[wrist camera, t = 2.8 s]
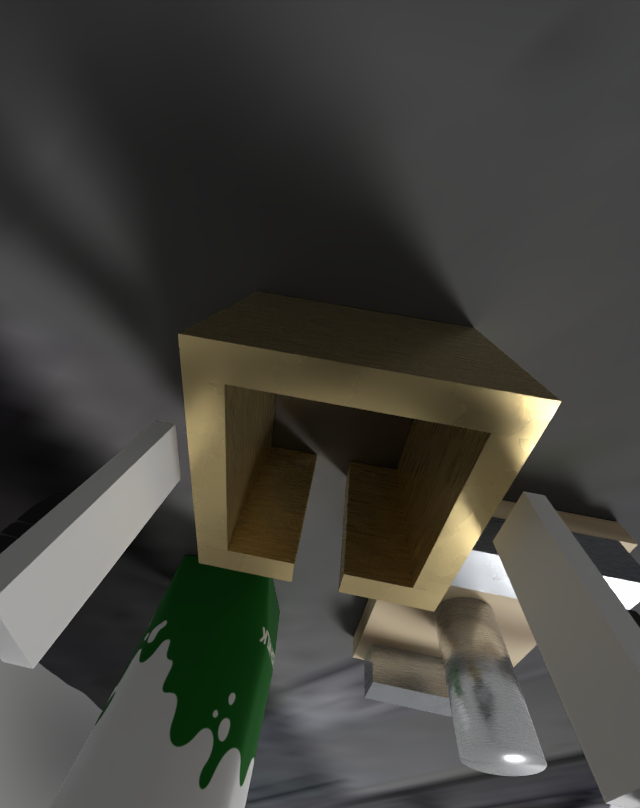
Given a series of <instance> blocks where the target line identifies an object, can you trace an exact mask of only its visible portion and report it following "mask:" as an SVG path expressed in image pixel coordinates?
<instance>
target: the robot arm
mask: <svg viewBox="0 0 640 808" xmlns="http://www.w3.org/2000/svg"><path fill="white" fill-rule="evenodd" d="M180 479H181V476H180V466H179V456H178V445H177V435H176V425H175V424H171V423H166V422H161V421H155V422H154V423H153V424H152V425H150V426H149V427H148V428H147V429H146V430H145V431H143V432H142V433H141V434H140V435H139V436H138V437H136V438H135V439H134V440H133V441H132V442H131V443H129V444H128V445H127V446H126V447H125V448H124V449H122V450H121V451H120V452H119V453H118V454H117V455H115V456H114V457H113V458H112V459H111V460H110V461H108V462H107V463H106V464H105V465H104V466H103V467H101V468H100V469H99V470H98V471H97V472H96V473H94V474H93V475H92V476H91V477H90V478H88V479H87V480H86V481H85V482H84V483H83V484H81V485H80V486H79V487H78V488H77V489H76V490H74V491H73V492H72V493H71V494H70V495H66V494H61V493H57V494H55V495H53V496H51V497H49V498H47V499H45V500H43V501H41V502H39V503H37V504H36V505H34V506H33V507H32V508H31V509H29V510H28V511H27V512H26V513H24V514H23V515H22V516H21V517H19V518H18V519H17V521H16V522H15V523H12V524H10V525H9V526H8V527H7V528H5V529H4V530H3V531H2V532H1V534H0V659H1V660H2V662H6V663H10V664H14V665H19V666H23V667H27V668H31V669H33V668H34V667H35V666H36V665H37V663H38V662H39V661H40V660H41V658H42V657H43V656H44V654H45V653H46V652H47V650H48V649H49V648H50V647H51V645H52V644H53V643H54V641H55V640H56V639H57V638H58V636H59V635H60V634H61V632H62V631H63V630H64V629H65V627H66V626H67V625H68V623H69V622H70V621H71V620H72V618H73V617H74V616H75V614H76V613H77V612H78V611H79V609H80V608H81V607H82V605H83V604H84V603H85V602H86V600H87V599H88V598H89V596H90V595H91V594H92V593H93V591H94V590H95V589H96V587H97V586H98V585H99V584H100V582H101V581H102V580H103V578H104V577H105V576H106V574H107V573H108V572H109V571H110V569H111V568H112V567H113V565H114V564H115V563H116V562H117V560H118V559H119V558H120V556H121V555H122V554H123V553H124V551H125V550H126V549H127V547H128V546H129V545H130V544H131V542H132V541H133V540H134V538H135V537H136V536H137V535H138V533H139V532H140V531H141V529H142V528H143V527H144V526H145V524H146V523H147V522H148V520H149V519H150V518H151V517H152V515H153V514H154V513H155V511H156V510H157V509H158V508H159V506H160V505H161V504H162V502H163V501H164V500H165V499H166V497H167V496H168V495H169V493H170V492H171V491H172V489H173V488H174V487H175V486H176V484H177V483H178V482H179V480H180ZM493 543H494V546H495V548H496V550H497V553H498V555H499V557H500V560H501V562H502V564H503V567H504V569H505V571H506V573H507V576H508V578H509V580H510V583H511V585H512V587H513V590H514V592H515V594H516V597H517V599H518V601H519V604H520V606H521V608H522V611H523V613H524V615H525V618H526V620H527V622H528V625H529V627H530V629H531V632H532V634H533V636H534V638H535V641H536V643H537V645H538V648H539V650H540V652H541V655H542V657H543V659H544V662H545V664H546V666H547V669H548V671H549V673H550V676H551V678H552V680H553V683H554V685H555V687H556V690H557V692H558V694H559V697H560V699H561V701H562V703H563V706H564V708H565V710H566V713H567V715H568V717H569V720H570V722H571V724H572V727H573V729H574V731H575V734H576V736H577V738H578V741H579V743H580V745H581V748H582V750H583V752H584V755H585V757H586V759H587V761H588V764H589V766H590V768H591V771H592V773H593V775H594V778H595V780H596V782H597V785H598V787H599V789H600V792H601V794H602V796H603V799H604V801H605V803H607V804H611V805H615V806H619V807H624V808H640V615H639V614H638V613H637V612H636V611H633V610H628V609H626V608H625V607H624V605H623V604H622V602H621V601H620V600H619V598H618V597H617V595H616V594H615V593H614V591H613V590H612V588H611V587H610V586H609V584H608V583H607V581H606V580H605V579H604V577H603V576H602V575H601V573H600V572H599V570H598V569H597V568H596V566H595V565H594V563H593V562H592V561H591V559H590V558H589V556H588V555H587V554H586V552H585V551H584V549H583V548H582V547H581V545H580V544H579V542H578V541H577V540H576V538H575V537H574V535H573V534H572V533H571V531H570V530H569V528H568V527H567V526H566V524H565V523H564V521H563V520H562V519H561V517H560V516H559V514H558V513H557V512H556V510H555V509H554V507H553V506H552V505H551V503H550V502H549V500H548V499H547V498H546V496H545V495H540V494H535V493H530V492H524V491H523V493H522V495H521V496H520V498H519V499H518V501H517V503H516V504H515V506H514V508H513V509H512V511H511V512H510V514H509V516H508V517H507V519H506V521H505V522H504V524H503V525H502V527H501V529H500V530H499V532H498V534H497V535H496V537H495V538H494V540H493Z"/></svg>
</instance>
